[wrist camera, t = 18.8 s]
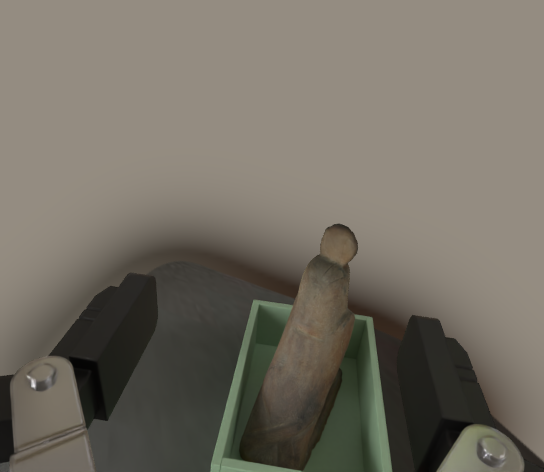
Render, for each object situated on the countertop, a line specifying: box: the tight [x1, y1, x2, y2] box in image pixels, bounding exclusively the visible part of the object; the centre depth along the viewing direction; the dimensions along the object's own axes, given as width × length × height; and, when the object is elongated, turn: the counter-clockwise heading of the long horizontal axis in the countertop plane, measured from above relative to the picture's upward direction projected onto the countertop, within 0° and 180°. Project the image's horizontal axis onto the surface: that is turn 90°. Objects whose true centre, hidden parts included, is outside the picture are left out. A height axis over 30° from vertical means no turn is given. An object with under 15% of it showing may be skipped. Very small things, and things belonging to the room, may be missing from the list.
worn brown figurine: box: [239, 224, 358, 471], centre depth 32 cm, size 12×6×18 cm, turn 148°
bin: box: [211, 300, 392, 472], centre depth 33 cm, size 11×16×6 cm
